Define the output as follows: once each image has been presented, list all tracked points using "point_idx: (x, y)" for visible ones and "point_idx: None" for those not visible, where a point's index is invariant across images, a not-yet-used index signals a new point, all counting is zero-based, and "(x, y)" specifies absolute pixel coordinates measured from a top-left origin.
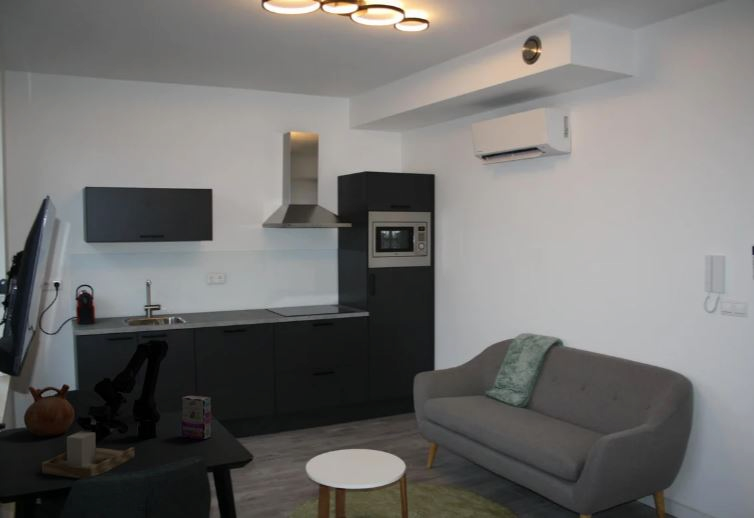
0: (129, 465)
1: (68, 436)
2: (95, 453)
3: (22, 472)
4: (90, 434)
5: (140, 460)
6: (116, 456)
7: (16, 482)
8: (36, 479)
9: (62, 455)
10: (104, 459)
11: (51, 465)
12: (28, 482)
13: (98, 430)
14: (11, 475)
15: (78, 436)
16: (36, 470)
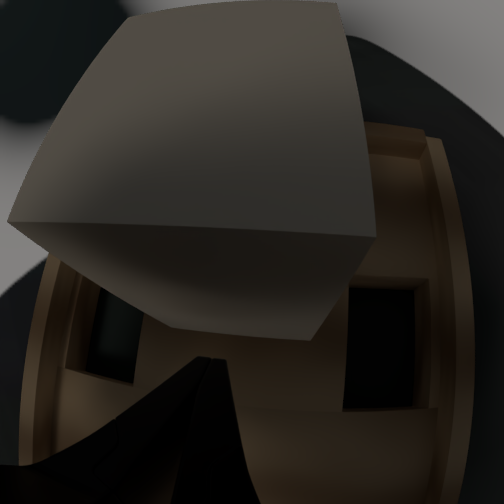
0: (20, 368)
1: (333, 11)
2: (148, 313)
3: (496, 172)
4: (59, 124)
5: (9, 444)
6: (28, 341)
7: (415, 87)
8: (373, 111)
9: (452, 288)
10: (136, 385)
11: (368, 126)
12: (374, 87)
13: (75, 495)
14: (496, 141)
15: (198, 27)
16: (473, 201)
